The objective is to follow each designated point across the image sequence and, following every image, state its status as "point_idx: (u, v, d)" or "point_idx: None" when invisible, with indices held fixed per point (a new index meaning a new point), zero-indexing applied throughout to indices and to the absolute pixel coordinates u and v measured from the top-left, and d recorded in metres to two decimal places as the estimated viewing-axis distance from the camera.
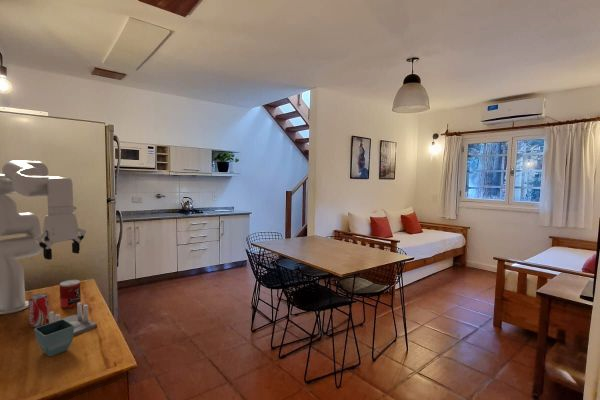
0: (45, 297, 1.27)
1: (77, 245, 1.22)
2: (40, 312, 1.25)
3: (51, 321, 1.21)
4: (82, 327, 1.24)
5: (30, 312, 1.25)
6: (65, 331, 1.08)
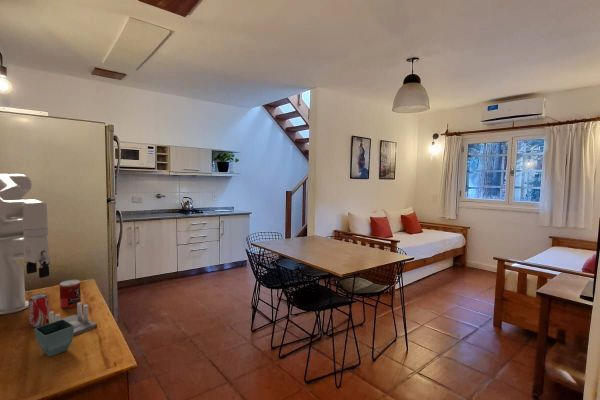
0: (45, 297, 1.27)
1: (35, 264, 1.29)
2: (40, 312, 1.25)
3: (51, 321, 1.21)
4: (82, 327, 1.24)
5: (30, 312, 1.25)
6: (65, 331, 1.08)
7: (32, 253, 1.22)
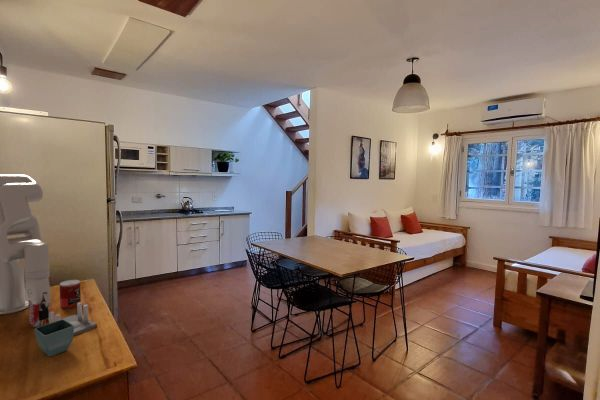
0: None
1: None
2: None
3: (51, 321, 1.21)
4: (82, 327, 1.24)
5: (30, 312, 1.25)
6: (65, 331, 1.08)
7: (34, 295, 1.23)
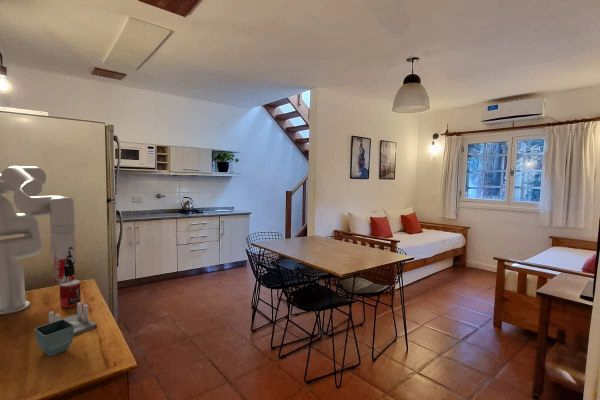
0: None
1: None
2: None
3: (51, 321, 1.21)
4: (82, 327, 1.24)
5: (56, 268, 1.21)
6: (65, 331, 1.08)
7: (60, 250, 1.19)
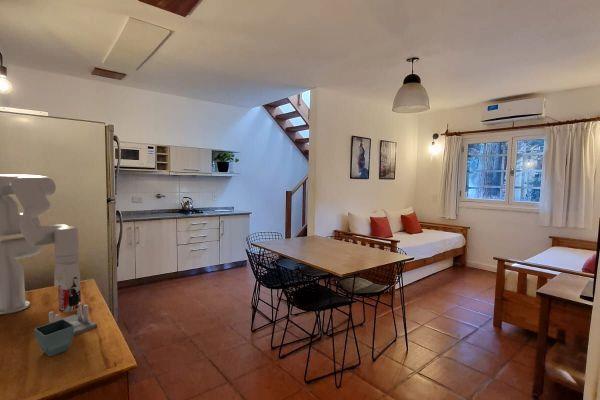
0: None
1: None
2: None
3: (51, 321, 1.21)
4: (82, 327, 1.24)
5: (60, 297, 1.21)
6: (65, 331, 1.08)
7: (64, 280, 1.20)
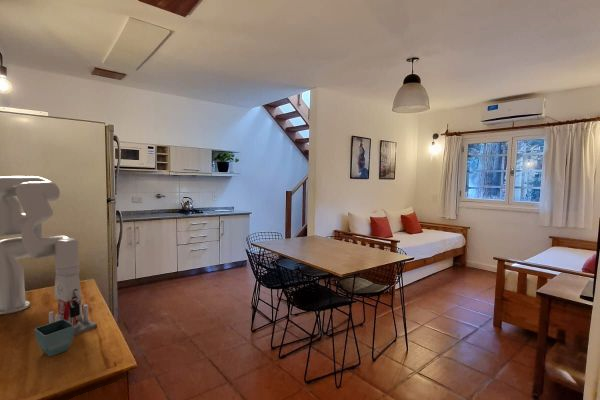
0: None
1: None
2: None
3: (51, 321, 1.21)
4: (82, 327, 1.24)
5: (60, 313, 1.22)
6: (65, 331, 1.08)
7: (64, 292, 1.20)
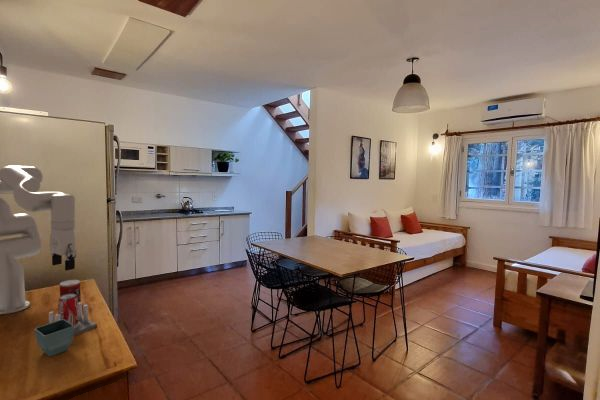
0: (74, 297, 1.24)
1: (61, 256, 1.30)
2: (69, 313, 1.23)
3: (51, 321, 1.21)
4: (82, 327, 1.24)
5: (60, 313, 1.22)
6: (65, 331, 1.08)
7: (59, 246, 1.22)
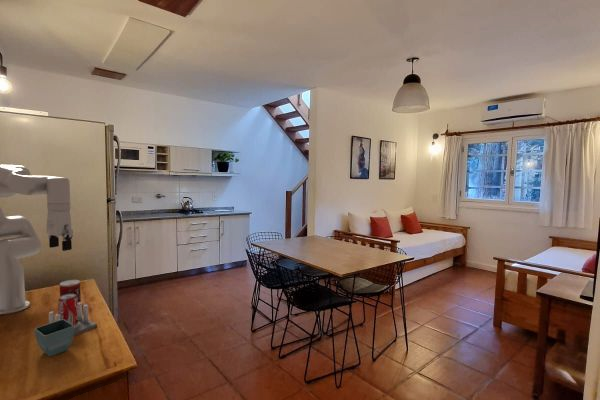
0: (74, 297, 1.24)
1: (58, 238, 1.34)
2: (69, 313, 1.23)
3: (51, 321, 1.21)
4: (82, 327, 1.24)
5: (60, 313, 1.22)
6: (65, 331, 1.08)
7: (56, 227, 1.26)
